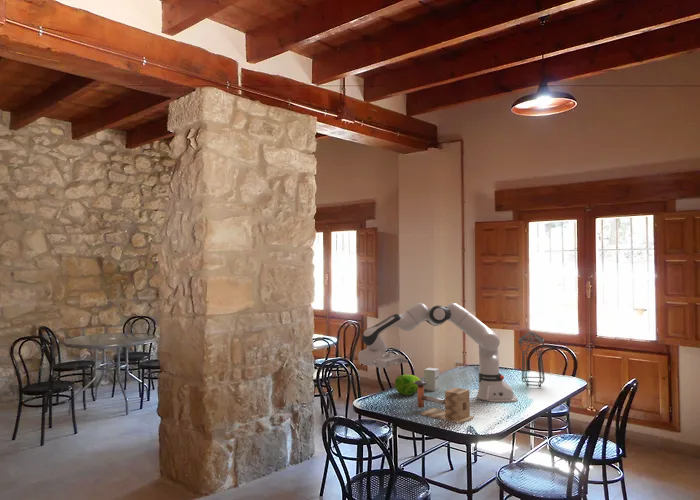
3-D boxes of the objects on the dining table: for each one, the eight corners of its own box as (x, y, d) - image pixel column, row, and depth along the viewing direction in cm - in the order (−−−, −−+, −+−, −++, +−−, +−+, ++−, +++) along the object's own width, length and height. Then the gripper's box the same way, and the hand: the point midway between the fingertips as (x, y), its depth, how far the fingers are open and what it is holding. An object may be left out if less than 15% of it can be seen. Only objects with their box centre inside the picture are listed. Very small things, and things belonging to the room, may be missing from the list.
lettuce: (429, 392, 307) (429, 373, 307) (408, 399, 293) (408, 378, 293) (411, 389, 317) (411, 369, 317) (390, 394, 303) (390, 374, 303)
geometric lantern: (546, 390, 313) (544, 333, 314) (519, 389, 318) (517, 332, 319) (546, 384, 327) (544, 330, 328) (521, 383, 333) (518, 329, 334)
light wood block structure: (420, 414, 262) (420, 387, 262) (433, 409, 271) (433, 383, 271) (462, 424, 246) (461, 394, 246) (474, 418, 255) (474, 390, 255)
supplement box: (434, 391, 311) (434, 370, 311) (423, 389, 315) (423, 369, 315) (439, 388, 317) (439, 368, 318) (428, 387, 321) (428, 367, 322)
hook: (412, 406, 269) (412, 381, 269) (419, 404, 273) (419, 379, 274) (442, 413, 257) (441, 387, 257) (448, 410, 261) (448, 385, 262)
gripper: (370, 356, 279) (390, 359, 270) (392, 351, 295) (412, 354, 285) (370, 368, 279) (390, 371, 270) (392, 362, 294) (412, 365, 285)
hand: (402, 362), depth 278 cm, fingers open, 8 cm apart
